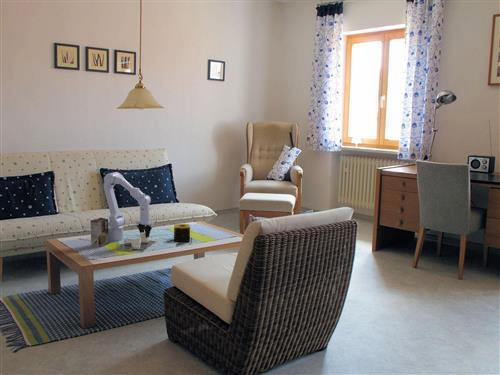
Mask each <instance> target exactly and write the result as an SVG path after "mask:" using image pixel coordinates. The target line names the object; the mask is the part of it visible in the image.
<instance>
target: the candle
mask: <svg viewBox="0 0 500 375" xmlns="http://www.w3.org/2000/svg"><path fill="white" fill-rule="evenodd" d="M173 226H174V227H173V228H174V229H173V242H174V243H190V242H191V225H190V223H174V224H173Z"/></svg>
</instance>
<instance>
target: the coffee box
mask: <svg viewBox="0 0 500 375" xmlns="http://www.w3.org/2000/svg"><path fill="white" fill-rule="evenodd" d="M108 228H109V218H105V217H99V218H95V219H92V220H90V246H91V247H95V248H101V247H105V246H106V245H109V244H110V243H109V232H108Z"/></svg>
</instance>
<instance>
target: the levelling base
mask: <svg viewBox="0 0 500 375" xmlns="http://www.w3.org/2000/svg"><path fill="white" fill-rule="evenodd" d="M123 240H124V241H123V243H124V244H123V245H121V246H120V247H118V248H117V249H116V250H118V251H127V252H128V251H129V252H141V253H142V252H145V250H147V249H148V248H149V247H151V246H152V245H154V244H155V243H156V242H157V240H150V239H149V242H148V243H141V244H140V249H132V243H131V238H125V239H123Z"/></svg>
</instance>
